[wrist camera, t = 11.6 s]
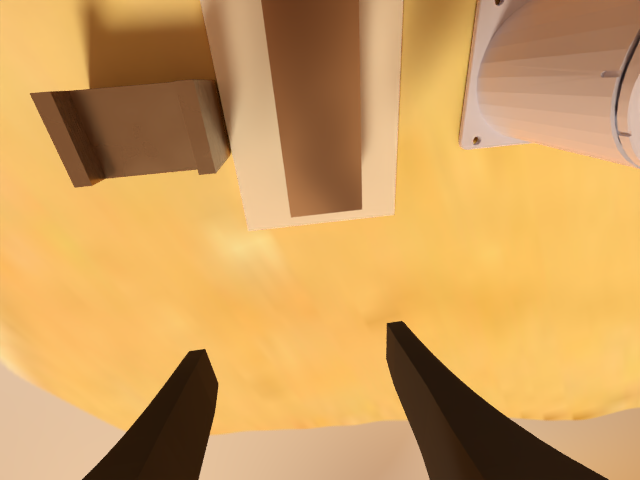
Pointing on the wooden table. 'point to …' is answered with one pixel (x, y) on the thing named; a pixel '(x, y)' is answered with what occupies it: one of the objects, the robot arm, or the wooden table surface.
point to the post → (136, 129)
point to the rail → (317, 101)
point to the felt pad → (261, 118)
